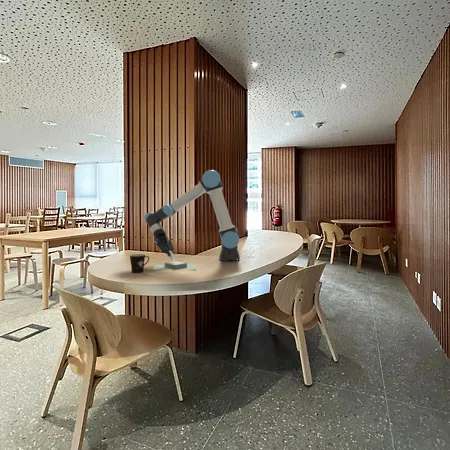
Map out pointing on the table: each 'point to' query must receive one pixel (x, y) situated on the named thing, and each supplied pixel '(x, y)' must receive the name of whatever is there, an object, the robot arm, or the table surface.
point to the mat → (162, 267)
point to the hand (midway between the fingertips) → (173, 259)
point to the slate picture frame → (175, 265)
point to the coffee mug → (138, 262)
